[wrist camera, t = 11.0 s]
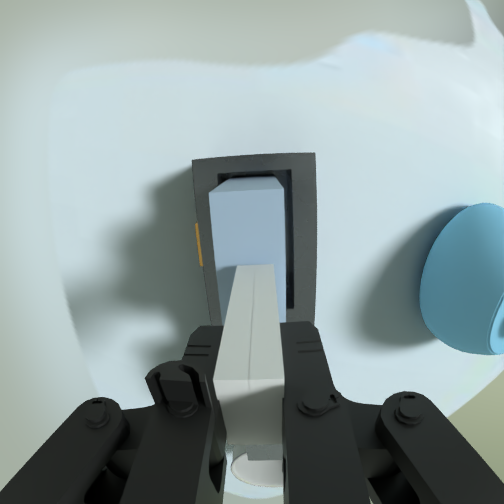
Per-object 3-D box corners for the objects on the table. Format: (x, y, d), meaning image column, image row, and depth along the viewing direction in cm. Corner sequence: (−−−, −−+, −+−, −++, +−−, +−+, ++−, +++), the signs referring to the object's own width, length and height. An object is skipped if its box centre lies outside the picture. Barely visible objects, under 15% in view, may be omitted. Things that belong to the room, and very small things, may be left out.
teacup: (218, 408, 30) (210, 462, 23) (301, 380, 28) (309, 438, 21) (271, 455, 34) (272, 498, 27) (340, 433, 32) (349, 479, 24)
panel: (232, 176, 21) (208, 192, 11) (273, 174, 20) (283, 188, 11) (239, 275, 23) (226, 353, 14) (276, 274, 23) (285, 352, 14)
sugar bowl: (517, 213, 21) (586, 244, 10) (481, 326, 26) (530, 379, 15) (431, 184, 21) (523, 212, 10) (392, 329, 26) (440, 408, 15)
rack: (201, 159, 21) (149, 164, 11) (303, 153, 21) (342, 151, 10) (229, 384, 29) (217, 468, 18) (301, 381, 28) (312, 465, 18)
